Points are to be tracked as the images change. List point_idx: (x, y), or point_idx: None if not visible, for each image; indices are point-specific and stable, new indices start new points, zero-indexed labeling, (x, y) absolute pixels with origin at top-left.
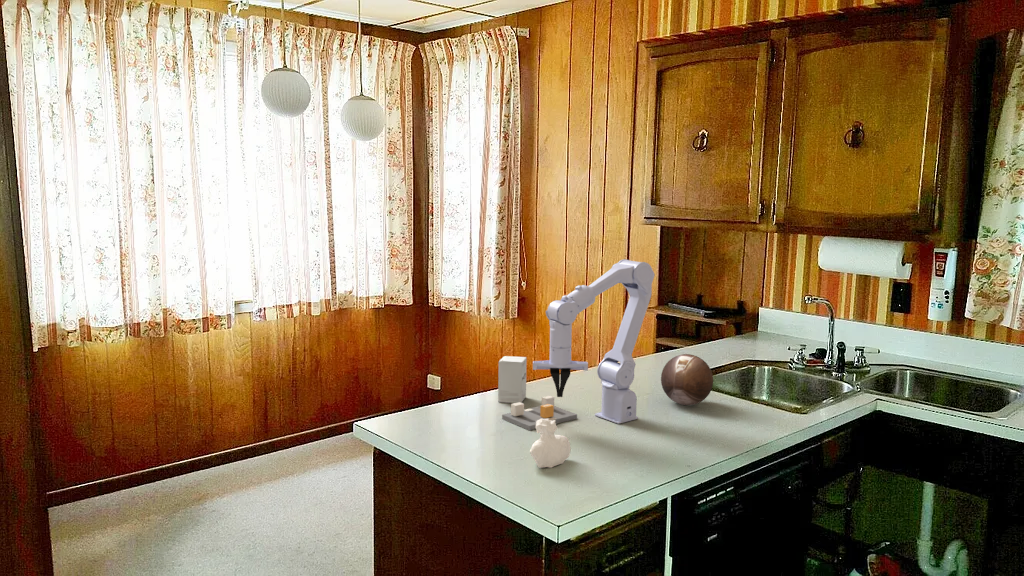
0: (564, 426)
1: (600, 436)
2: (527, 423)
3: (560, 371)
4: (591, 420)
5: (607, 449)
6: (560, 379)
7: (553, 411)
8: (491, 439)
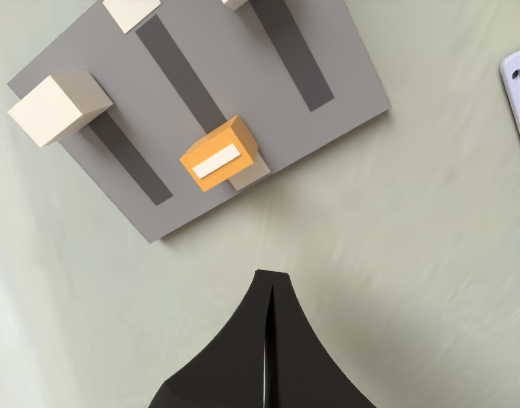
0: (296, 203)
1: (398, 307)
2: (140, 215)
3: (281, 393)
4: (445, 136)
5: (375, 387)
6: (277, 346)
7: (256, 151)
8: (42, 294)
